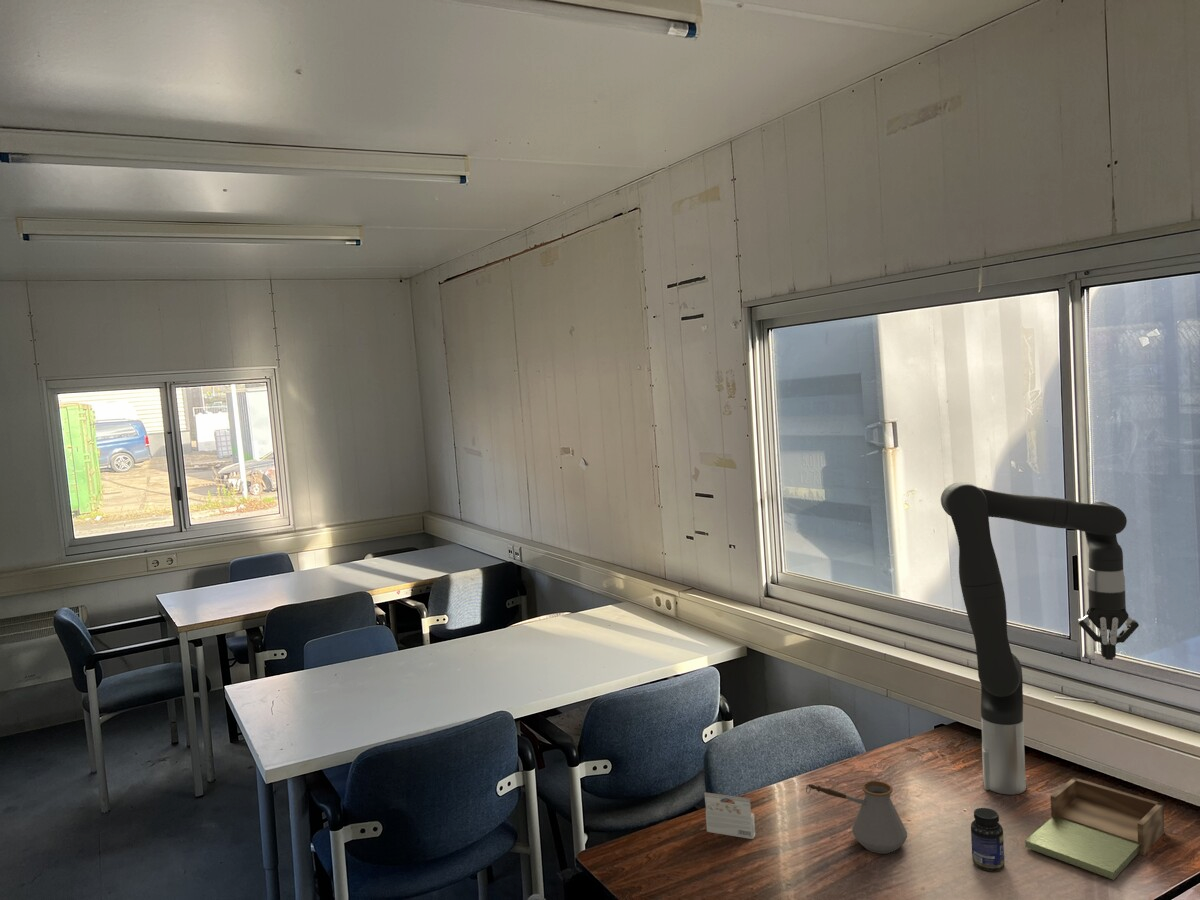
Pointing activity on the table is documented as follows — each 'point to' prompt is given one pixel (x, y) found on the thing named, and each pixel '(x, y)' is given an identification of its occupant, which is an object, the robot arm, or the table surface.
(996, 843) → the pill bottle
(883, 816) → the coffee pot
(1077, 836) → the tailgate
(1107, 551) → the robot arm
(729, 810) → the ink cartridge box
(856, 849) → the table surface
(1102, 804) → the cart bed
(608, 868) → the table surface
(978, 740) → the table surface
